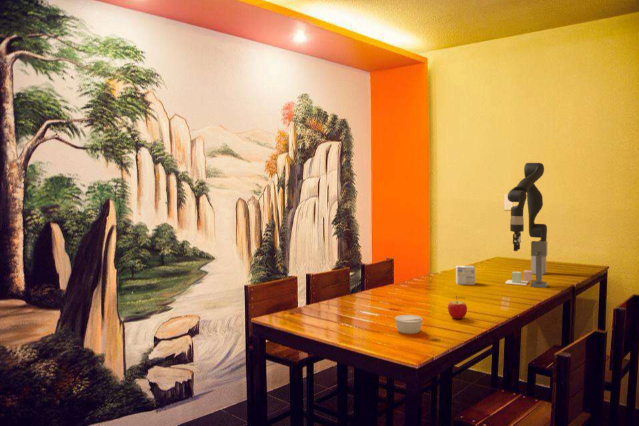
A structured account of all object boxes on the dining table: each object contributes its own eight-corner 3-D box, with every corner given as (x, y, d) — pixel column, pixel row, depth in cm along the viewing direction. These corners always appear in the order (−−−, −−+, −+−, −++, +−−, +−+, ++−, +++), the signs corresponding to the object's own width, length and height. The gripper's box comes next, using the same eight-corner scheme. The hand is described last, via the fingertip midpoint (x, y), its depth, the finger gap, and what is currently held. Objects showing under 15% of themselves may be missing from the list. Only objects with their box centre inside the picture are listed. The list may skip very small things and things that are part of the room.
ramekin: (413, 336, 201) (413, 323, 200) (389, 331, 208) (389, 318, 208) (427, 330, 209) (427, 317, 209) (404, 325, 216) (404, 313, 216)
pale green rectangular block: (513, 281, 308) (513, 271, 308) (521, 281, 306) (521, 272, 305) (512, 282, 304) (512, 272, 304) (520, 283, 302) (520, 273, 302)
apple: (463, 315, 231) (463, 294, 230) (469, 320, 222) (469, 298, 222) (445, 316, 230) (445, 294, 230) (451, 321, 222) (451, 298, 221)
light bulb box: (473, 282, 307) (473, 265, 307) (475, 284, 301) (475, 267, 300) (455, 282, 308) (455, 265, 308) (457, 284, 302) (457, 267, 301)
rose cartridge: (524, 279, 314) (524, 270, 314) (532, 280, 312) (532, 270, 312) (523, 281, 310) (523, 271, 310) (531, 281, 308) (531, 271, 308)
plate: (507, 280, 313) (507, 279, 313) (528, 281, 307) (528, 281, 307) (504, 283, 303) (504, 283, 303) (525, 285, 297) (525, 284, 297)
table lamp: (532, 284, 300) (532, 240, 298) (547, 285, 296) (547, 241, 294) (530, 287, 291) (530, 242, 290) (545, 288, 287) (545, 243, 286)
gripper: (521, 224, 295) (521, 252, 296) (525, 222, 307) (525, 249, 308) (508, 224, 299) (508, 251, 300) (512, 222, 311) (512, 248, 312)
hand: (516, 250), depth 304 cm, fingers open, 8 cm apart
